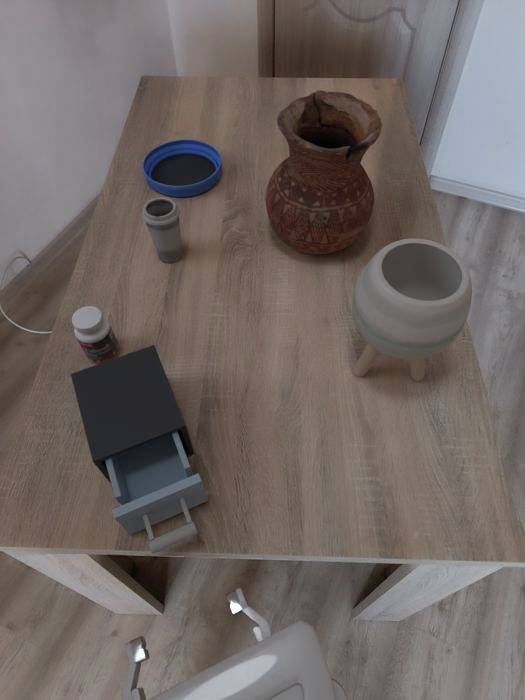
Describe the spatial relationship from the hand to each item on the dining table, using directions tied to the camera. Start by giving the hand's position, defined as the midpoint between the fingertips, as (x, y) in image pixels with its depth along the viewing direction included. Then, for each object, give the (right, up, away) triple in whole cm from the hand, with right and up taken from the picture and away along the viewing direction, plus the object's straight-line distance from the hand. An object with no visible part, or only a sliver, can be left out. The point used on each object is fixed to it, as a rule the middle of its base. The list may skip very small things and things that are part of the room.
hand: (185, 615), depth 43 cm
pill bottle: (-21, +24, +40) cm, 51 cm away
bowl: (-11, +65, +69) cm, 95 cm away
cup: (-12, +43, +54) cm, 70 cm away
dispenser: (-12, +12, +32) cm, 36 cm away
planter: (+28, +22, +39) cm, 53 cm away
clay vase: (+18, +49, +57) cm, 77 cm away
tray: (-8, +4, +25) cm, 27 cm away
